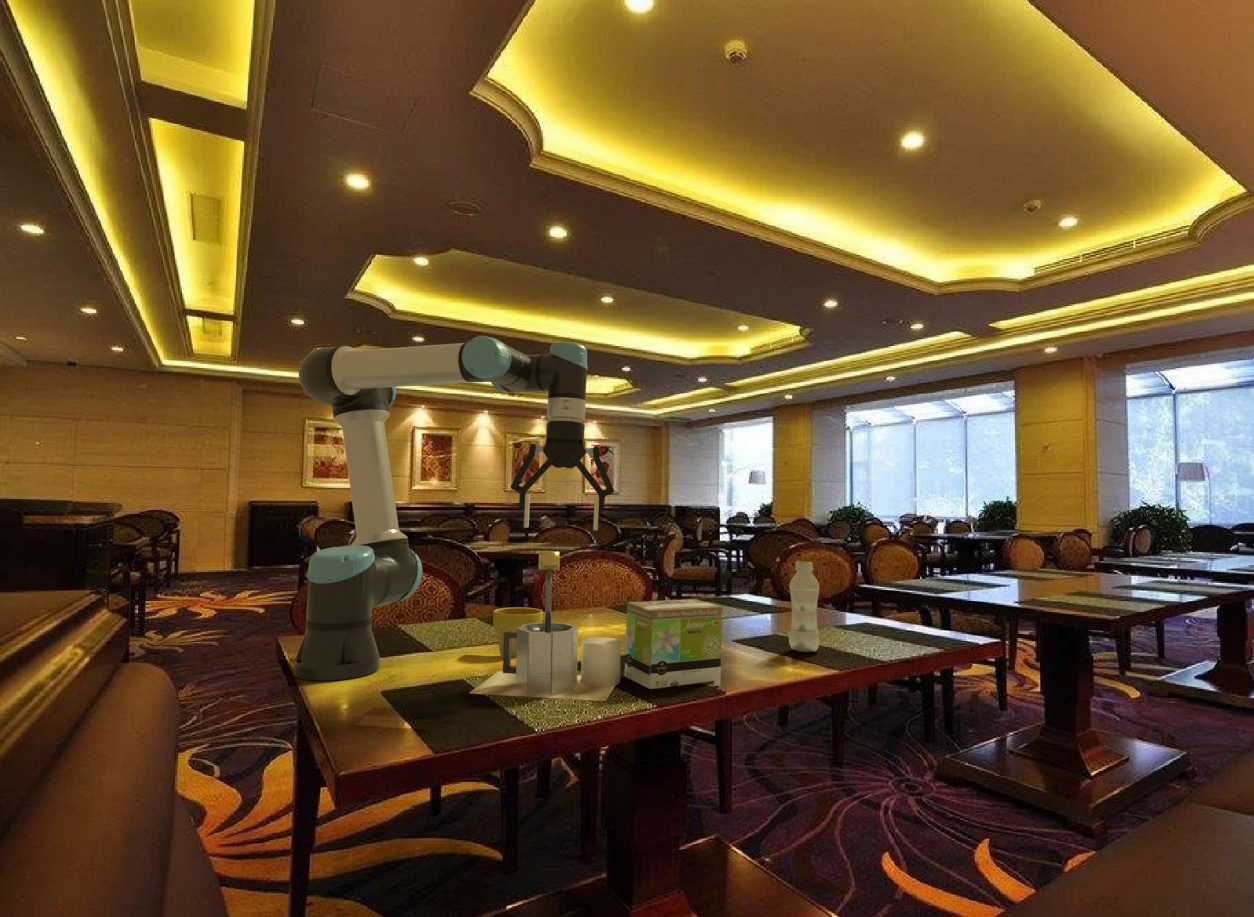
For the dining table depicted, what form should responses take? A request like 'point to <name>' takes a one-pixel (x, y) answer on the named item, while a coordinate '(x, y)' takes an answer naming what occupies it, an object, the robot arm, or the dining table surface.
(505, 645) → the silver faceted mug
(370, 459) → the robot arm
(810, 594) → the plastic bottle
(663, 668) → the tea box
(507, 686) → the serving board
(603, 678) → the white cylindrical canister
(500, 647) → the plant pot
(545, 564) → the plunger
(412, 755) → the dining table surface
